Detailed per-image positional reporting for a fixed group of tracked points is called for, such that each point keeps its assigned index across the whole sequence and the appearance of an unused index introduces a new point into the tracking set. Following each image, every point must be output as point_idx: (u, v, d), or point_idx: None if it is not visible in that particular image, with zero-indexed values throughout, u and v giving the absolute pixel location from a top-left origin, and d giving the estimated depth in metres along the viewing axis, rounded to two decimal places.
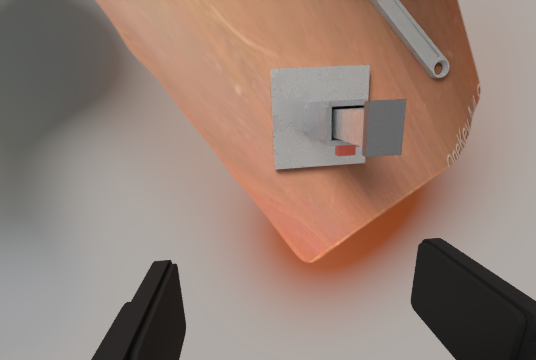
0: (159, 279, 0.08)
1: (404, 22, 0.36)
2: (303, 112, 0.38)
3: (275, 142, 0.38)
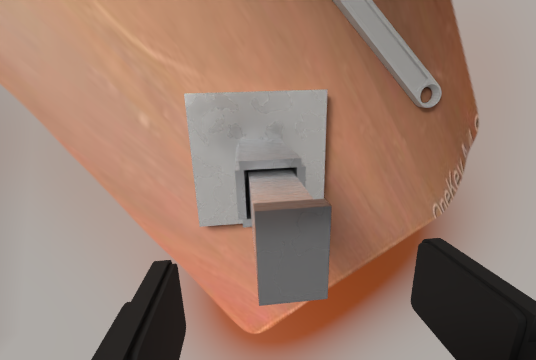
0: (159, 279, 0.08)
1: (380, 31, 0.26)
2: (235, 153, 0.27)
3: (198, 192, 0.28)
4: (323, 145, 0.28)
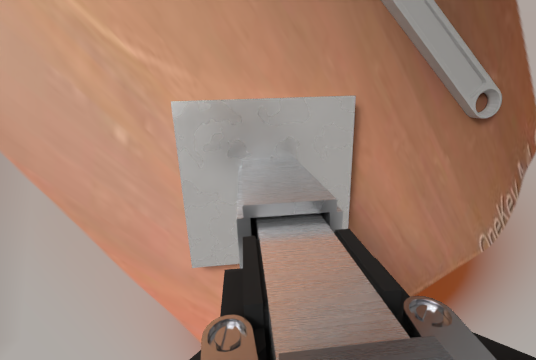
0: (256, 249, 0.09)
1: (428, 22, 0.20)
2: (237, 176, 0.21)
3: (189, 225, 0.22)
4: (349, 166, 0.22)
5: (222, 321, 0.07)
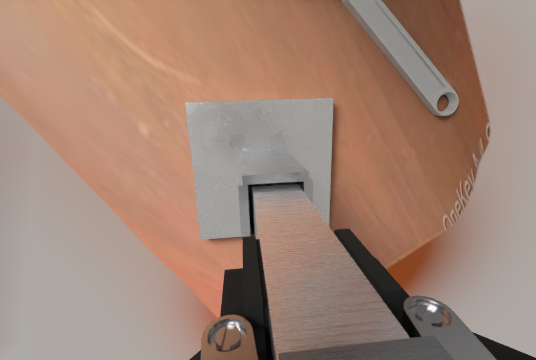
0: (256, 249, 0.09)
1: (395, 39, 0.25)
2: (238, 163, 0.26)
3: (199, 204, 0.27)
4: (329, 155, 0.27)
5: (222, 321, 0.07)
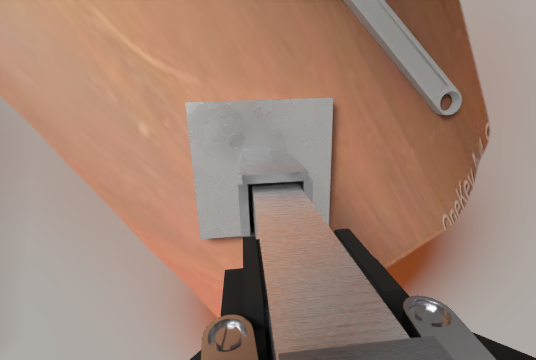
0: (256, 249, 0.09)
1: (398, 38, 0.25)
2: (237, 163, 0.26)
3: (199, 203, 0.27)
4: (329, 155, 0.27)
5: (222, 321, 0.07)
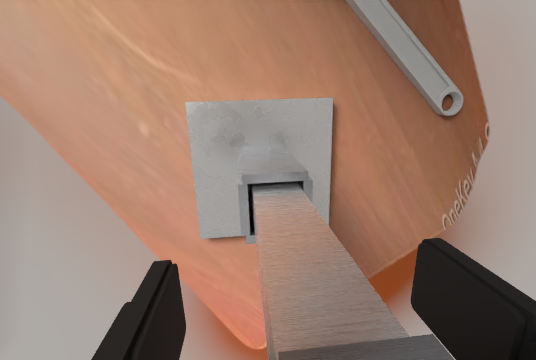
0: (159, 279, 0.08)
1: (400, 39, 0.25)
2: (237, 163, 0.26)
3: (199, 203, 0.27)
4: (329, 155, 0.27)
5: None
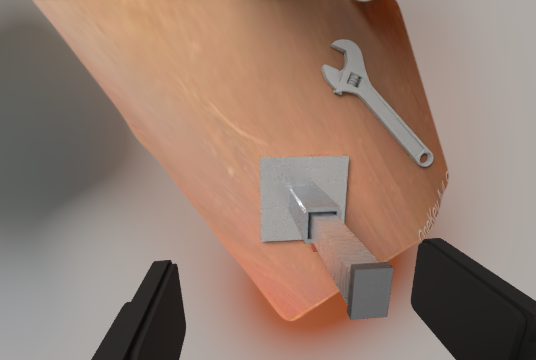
0: (159, 279, 0.08)
1: (393, 122, 0.41)
2: (288, 194, 0.42)
3: (262, 218, 0.43)
4: (345, 190, 0.43)
5: None
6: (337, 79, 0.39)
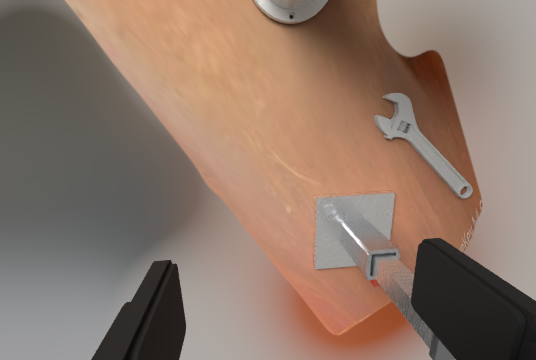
0: (159, 279, 0.08)
1: (437, 161, 0.46)
2: (340, 228, 0.47)
3: (316, 250, 0.48)
4: (390, 222, 0.47)
5: None
6: (389, 127, 0.43)
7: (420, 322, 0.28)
